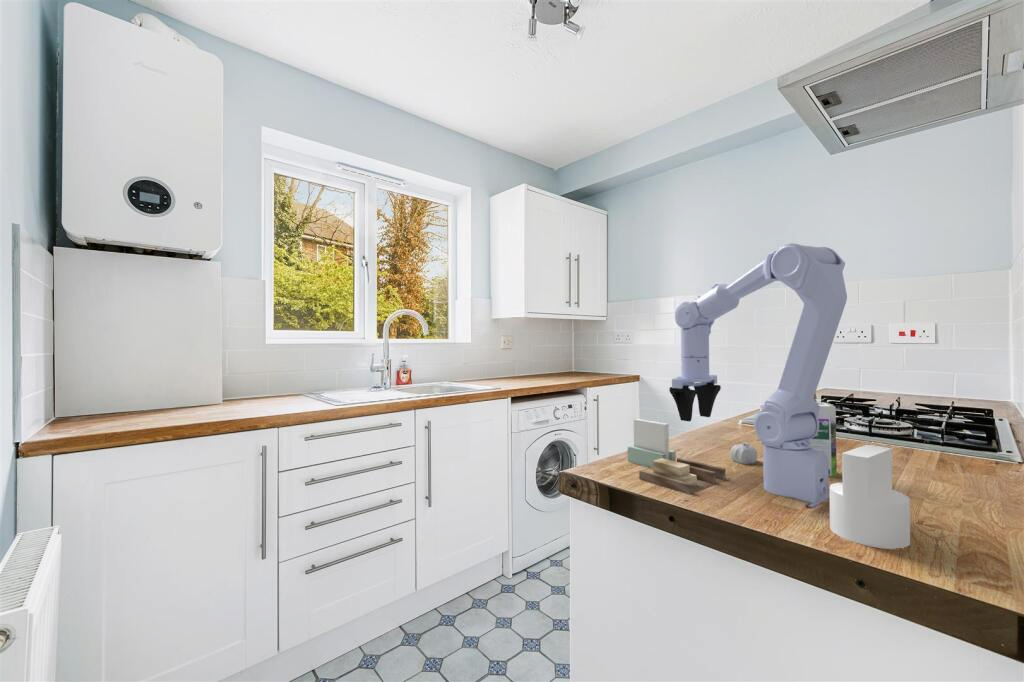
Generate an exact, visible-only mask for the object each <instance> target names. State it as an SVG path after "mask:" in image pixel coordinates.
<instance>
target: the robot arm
mask: <svg viewBox="0 0 1024 682" xmlns="http://www.w3.org/2000/svg"><path fill="white" fill-rule="evenodd" d="M845 266H846V262H845V261H844V260H843V258H842V257H840V255H839V254H838V253H837V252H836V251H835V250H834V249H832V248H830V247H826V246H819V247H817V246H812V245H811V246H810V245H803V244H798V243H786V244H784V245H781V246H780V247H778V249H776V250H773V251H772V252H769V253H768V254H767V255H766V257H765V259H764V260H763V261H761V262H760V263H758V264H757V265H755V266H754V267H753V268H751V269H750V270H748V271H747V272H746V273H744V274H743V275H741V276H739V278H738V279H736V280H734V281H733V282H731V283H730V284H726V283H720V284H718V283H715V284H713V285H712V286H710V288H711V289H710V290H709V291H707V292H705V293H704V294H703V295H698V296H696V297H695V299H694V300H693V301H691V302H690V301H682V302H681V303H680V304H679V305H678V306H677V307H676V310H675V311H674V321H675V323H676V325H677V326H678V327H679V328H680V349H681V350H680V356H681V357H680V362H681V366H680V368H681V373H680V375H677V376H676V377H675V378H672V379H671V386H670V387H669V393H670V394H671V396H672V398H673V401H674V402H675V404H676V405H675V406H676V407H677V412H678V414H679V415H678V416H679V418H680V421H684V422H691V421H692V419H693V407H694V401H695V398H697V403H698V412H699V417H704V418H711V415H712V412H713V408H714V404H715V401H716V398H717V396H718V394H719V392H720V391H721V390H722V389H721V388H722V386H721V384H720V385H719V384H718V375H715V374H710V334H711V333H712V330H711V329H712V326H713V324H714V323H715V320H717V319H718V318H720V317H722V316H724V315H725V314H727V313H729V312H732V311H733V310H735V309H737V307H738V306H739V303H740V299H742V298H744V297H746V296H748V295H750V294H752V293H754V292H756V291H758V290H761V289H762V288H764V287H766V286H769V285H770V284H773V283H774V282H779V281H780V282H782V284H783V285H785V286H786V287H789V288H790V289H791V290H793V291H794V292H795V293H796V294H797V296H798V297H799V299H800V300H801V301H802V303H803V307H802V311H801V313H800V317H799V320H798V323H797V326H796V330H795V333H794V336H793V339H792V343H791V346H790V348H789V352H788V355H787V359H786V362H785V364H784V365H785V366H784V368H783V370H782V375H781V378H780V381H779V384H778V387H777V389H776V390H775V391H774V392H773V393H772V394H771V395H770V396H769V397H768V398H767V399H765V401H764V404H763V407H762V409H761V410H760V411H759V412H757V413H756V415H755V417H754V419H753V429H754V433H755V434H756V436H757V438H758V439H759V440H760V441H761V442H760V443H761V445H762V449H763V450H762V451H763V453H762V456H763V465H762V467H763V470H762V471H763V489H764V491H766V492H768V493H769V494H773V495H777V496H780V497H787V498H791V499H796V500H801V501H804V502H809V503H808V504H806V505H805V507H808V508H815V507H817V506H819V505H820V504H822V503H823V502H825V501H827V500H828V499H830V487H829V476H828V459H827V456H826V454H825V453H824V452H821V451H817V450H814V449H812V448H810V445H811V439H812V438H814V437H815V436H816V435H817V433H818V430H819V421H818V413H819V410H820V406H819V405H818V403H819V402H817V400H815V394H816V393H817V388H818V386H819V383H820V380H821V377H822V375H823V371H824V369H825V365H826V363H827V359H828V357H829V354H830V351H831V347H832V345H833V342H834V339H835V337H836V332H837V331H838V328H839V324H840V321H841V319H842V316H843V313H844V309H845V308H846V307H845V306H846V304H847V300H848V294H847V289H846V284H845V279H844V274H843V271H844V268H845ZM690 387H693V389H691V388H690Z"/></svg>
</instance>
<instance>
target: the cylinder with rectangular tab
mask: <svg viewBox="0 0 1024 682" xmlns="http://www.w3.org/2000/svg"><path fill="white" fill-rule="evenodd" d="M841 456H842V457H841V459H842V460H841V461H842V462H841V463H842V464H841V465H842V473H841V474H842V477H841V478H842V482H836V483H831V484H830V485H829V495H830V498H829V529H830V531H832V533H834V534H835V535H837V536H838V537H840V538H842V539H844V540H847V541H850V542H852V543H856V544H860V545H863V546H868V547H872V548H877V549H886V550H897V549H896V548H902V549H905V548H904V547H906V548H908V547H907V546H909V547H910V545H911V499H910V497H908V496H907V495H906V494H904V493H902V492H900V491H897V490H895V489H893V448H891V447H886V446H881V445H874V444H864V445H862V446H859V447H856V448H852V449H850V450H847V451H844V452H842V455H841ZM894 548H895V549H894Z"/></svg>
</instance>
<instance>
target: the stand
mask: <svg viewBox="0 0 1024 682" xmlns="http://www.w3.org/2000/svg"><path fill="white" fill-rule="evenodd" d="M676 453H677V452H676V450H673V449H672V450H671V449H669V460H672V461H676V462H677V458H676V457H677V456H676ZM661 458H663V459H666V454H664V453H660V452H655V451H651V450H647V449H643V448H638V447H634V445H629V446H627V462H629V463H633V464H635V465H636V464H637V465H639V466H643V467H648V468H652V469H653V461H654V460H657V459H661Z"/></svg>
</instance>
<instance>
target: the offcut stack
mask: <svg viewBox="0 0 1024 682" xmlns="http://www.w3.org/2000/svg"><path fill="white" fill-rule="evenodd" d="M652 471H653V472H652V473H655V474H659V475H662V476H666V477H669V478H673V479H677V480H680V481H684V482H687V483H691V484H694V486H695V485H697V475H694V474H690V465H688V464H684V463H680V462H677V460H676V461H672V460H667V459H663V458H661V459H657V460H654V461H653V468H652Z"/></svg>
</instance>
